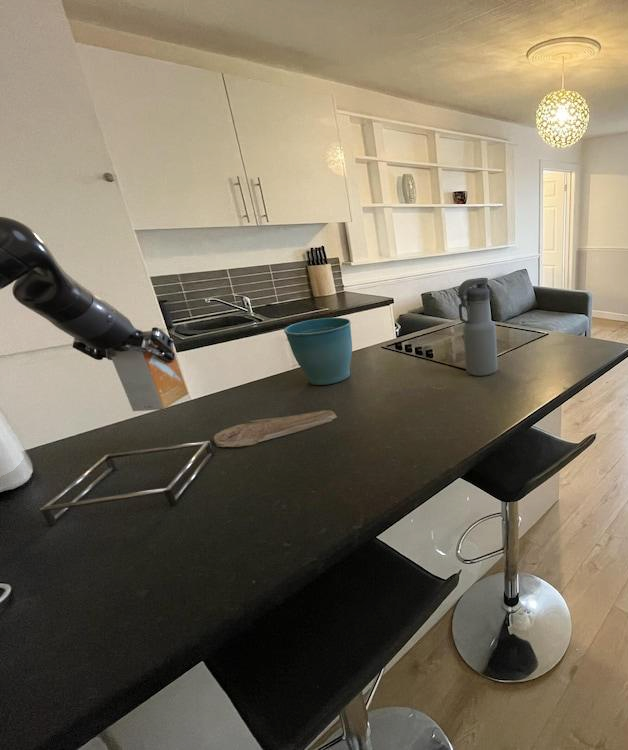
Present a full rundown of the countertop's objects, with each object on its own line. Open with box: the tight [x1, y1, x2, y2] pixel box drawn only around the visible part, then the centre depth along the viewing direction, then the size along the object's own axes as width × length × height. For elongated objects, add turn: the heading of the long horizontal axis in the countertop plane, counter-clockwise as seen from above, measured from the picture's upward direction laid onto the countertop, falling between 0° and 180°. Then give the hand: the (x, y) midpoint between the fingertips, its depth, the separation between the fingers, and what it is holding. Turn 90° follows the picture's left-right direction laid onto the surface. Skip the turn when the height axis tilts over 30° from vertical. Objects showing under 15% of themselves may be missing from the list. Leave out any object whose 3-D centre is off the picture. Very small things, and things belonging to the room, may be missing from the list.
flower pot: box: [283, 317, 353, 386], centre depth 122 cm, size 18×18×17 cm
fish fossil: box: [213, 409, 338, 448], centre depth 97 cm, size 26×10×1 cm, turn 123°
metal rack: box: [39, 440, 215, 527], centre depth 77 cm, size 19×17×4 cm
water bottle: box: [457, 277, 499, 377], centre depth 121 cm, size 10×10×28 cm
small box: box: [111, 340, 189, 412], centre depth 85 cm, size 8×6×13 cm
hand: (151, 360), depth 85 cm, fingers closed on small box, 7 cm apart
